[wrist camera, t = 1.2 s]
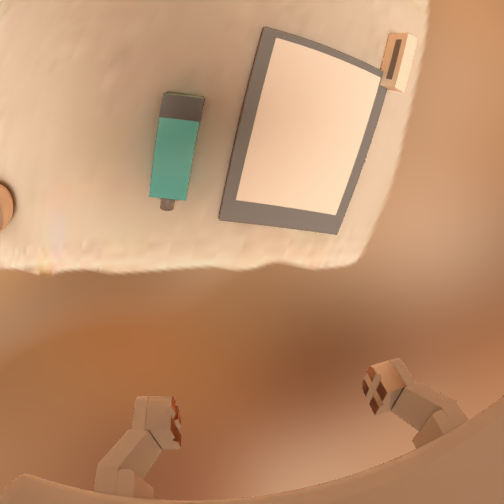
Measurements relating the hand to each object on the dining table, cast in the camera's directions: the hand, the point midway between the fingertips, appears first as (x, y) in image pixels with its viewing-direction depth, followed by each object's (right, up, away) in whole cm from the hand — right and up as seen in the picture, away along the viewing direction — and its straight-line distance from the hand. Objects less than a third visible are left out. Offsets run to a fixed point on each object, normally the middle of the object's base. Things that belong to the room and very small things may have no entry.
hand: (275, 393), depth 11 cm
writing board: (+6, +19, +22) cm, 30 cm away
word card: (+16, +30, +17) cm, 38 cm away
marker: (-9, +18, +19) cm, 28 cm away
